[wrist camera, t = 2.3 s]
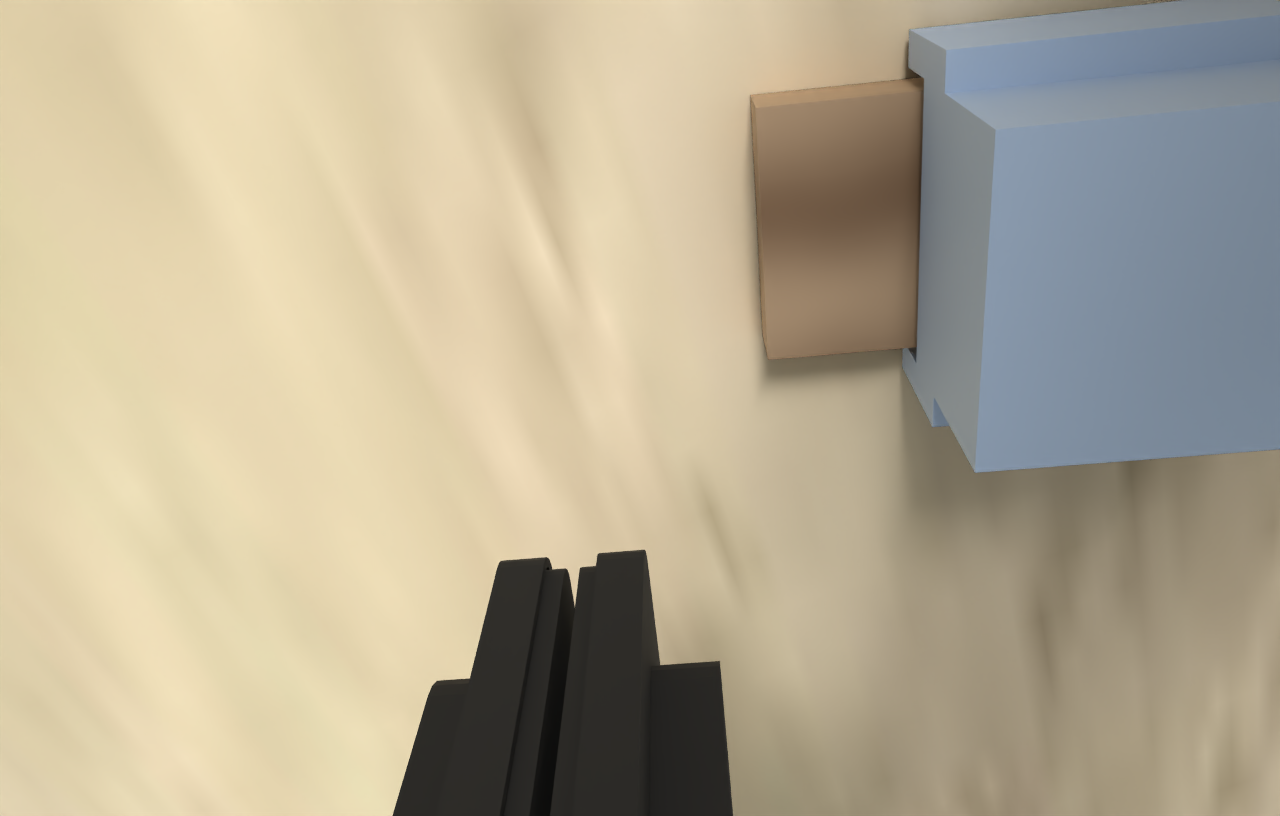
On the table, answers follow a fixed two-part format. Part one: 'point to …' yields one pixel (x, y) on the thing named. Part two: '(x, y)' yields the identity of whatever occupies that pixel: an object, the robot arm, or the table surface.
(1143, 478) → the table surface
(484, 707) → the robot arm
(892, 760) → the table surface
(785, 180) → the rail
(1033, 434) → the block
